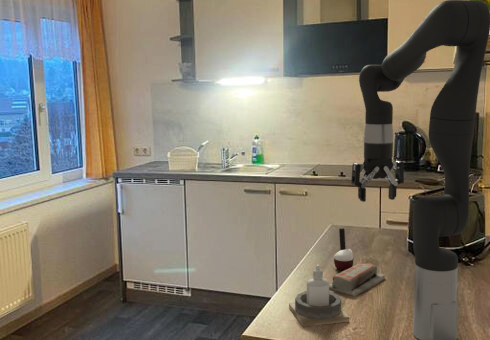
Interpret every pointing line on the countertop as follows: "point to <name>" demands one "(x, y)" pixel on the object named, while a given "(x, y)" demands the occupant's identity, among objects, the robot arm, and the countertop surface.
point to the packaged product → (356, 279)
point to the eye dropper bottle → (318, 289)
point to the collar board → (318, 322)
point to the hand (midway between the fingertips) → (377, 200)
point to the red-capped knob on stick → (343, 254)
